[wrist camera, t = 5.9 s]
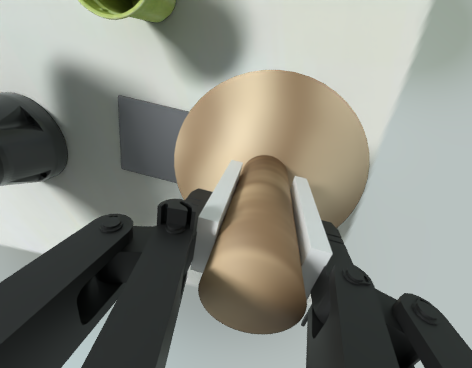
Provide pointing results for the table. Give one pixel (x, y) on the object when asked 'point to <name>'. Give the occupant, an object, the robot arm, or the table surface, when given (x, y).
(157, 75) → the table surface
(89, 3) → the plant pot
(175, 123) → the mat
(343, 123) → the lid
